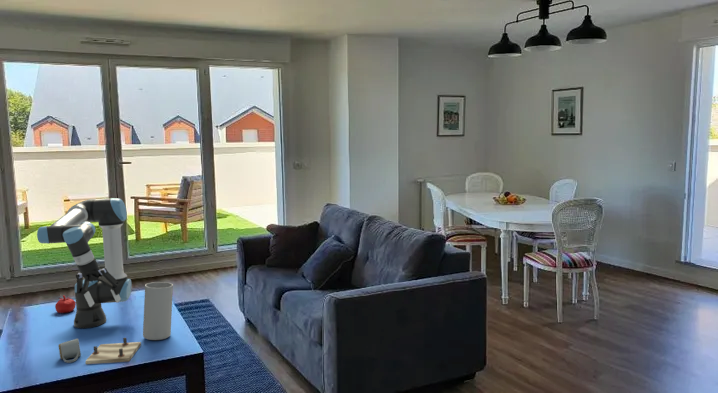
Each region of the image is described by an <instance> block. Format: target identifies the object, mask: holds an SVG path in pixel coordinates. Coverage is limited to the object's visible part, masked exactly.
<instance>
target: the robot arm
mask: <svg viewBox="0 0 718 393" xmlns="http://www.w3.org/2000/svg"><path fill="white" fill-rule="evenodd" d="M127 214H128V213H127V208H126V204H125V203H124V200H122V198H119V197H118V198H117V197H116V198H115V197H110V198H92V199H91V198H90V199H87V200H85V199H84V200H83V201H80V202H78V203H76V204H74V205H72V206H71V207H70V208H69V209H68V210H67V212H66V213H65V214H63V216H61V217H60V218H58V219H57V220H56V221H55V222H54V223H52V224H50V225H45V226H40V227H38V229H37V231H36V238H37V241H38V242H39V243H40V244H61V243H62V244H63V243H64V244H66V245H67V246H66V247H67V248H68V250H69V252H70V254H71V256H72V259H73V261H74V262H75V264H76V265H77V269H78V273H77V274H75V277H76V283H75V284H74V296H75V297H74V299H75V302H76V305H75V308H76V309H75V310H76V312H75V316H74V320H73V326H74V328H77V329H91V328H95V327H99V326H101V325H103V324H105V323H106V322H107V315H106V314H105V312H104V309H103V307H102V304H111V303H116V304H117V303H123V302H126V301H129V299H130V296H131V292H132V286H133V285H132V280H131V278H128V274H127V273H125V272H124V261H123V260H124V258H123V246H122V245H123V244H122V243H123V242H122V233H121V232H122V230H121V227H122V226H123V225H124V222H125V221H127V216H128V215H127ZM93 222H94V223H98V226H99V228H101V230H102V243H103V244H102V245H103V255H104V256H103V258H104V267H103V268H102V269H100V268H99V263H98V262H97V260H96V258H95V256H94V253H93V251H92V249H91V247H90V244H89V241H91V239H92V238H94V235H95V233H96V226H95V225H94V224H93Z"/></svg>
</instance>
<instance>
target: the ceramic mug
mask: <svg viewBox="0 0 718 393" xmlns="http://www.w3.org/2000/svg"><path fill="white" fill-rule="evenodd" d="M58 354H59V359H60V360H63V362H64V363H68V364H70V363H74V362H76V361H77V360H78V358H79V357H81V355H82V353H81V348H80V341H79V338H74V339H72V340H67V341H64V342H61V343H59V344H58ZM72 358H73V359H72Z"/></svg>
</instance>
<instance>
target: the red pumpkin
mask: <svg viewBox="0 0 718 393" xmlns="http://www.w3.org/2000/svg"><path fill="white" fill-rule="evenodd" d="M62 297H63V298H62ZM62 297H61V298H58V299H59V300H58V301H56V303H55V305H54V308H55V311H56V313H58V314H65V313H66V314H68V313H71V312H73V311H74V310H75V308H76V300H74V299H73V298H71V297H70V296H68V297H66V295H64V294H63V295H62Z"/></svg>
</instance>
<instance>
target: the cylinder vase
mask: <svg viewBox="0 0 718 393" xmlns="http://www.w3.org/2000/svg"><path fill="white" fill-rule="evenodd" d="M173 286H174V284H173V283H171V282H167V281H154V282H148V283H145V285H144V300H143V301H144V303H143V304H144V305H143V324H142V325H143V327H142V337H143V338H144V339H147V340H149V341H160V340H161V341H162V340H165V339H167V338H169V337H170V336H171V335H172V332H171V331H172V315H173V314H172V312H173V291H174V287H173Z"/></svg>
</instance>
